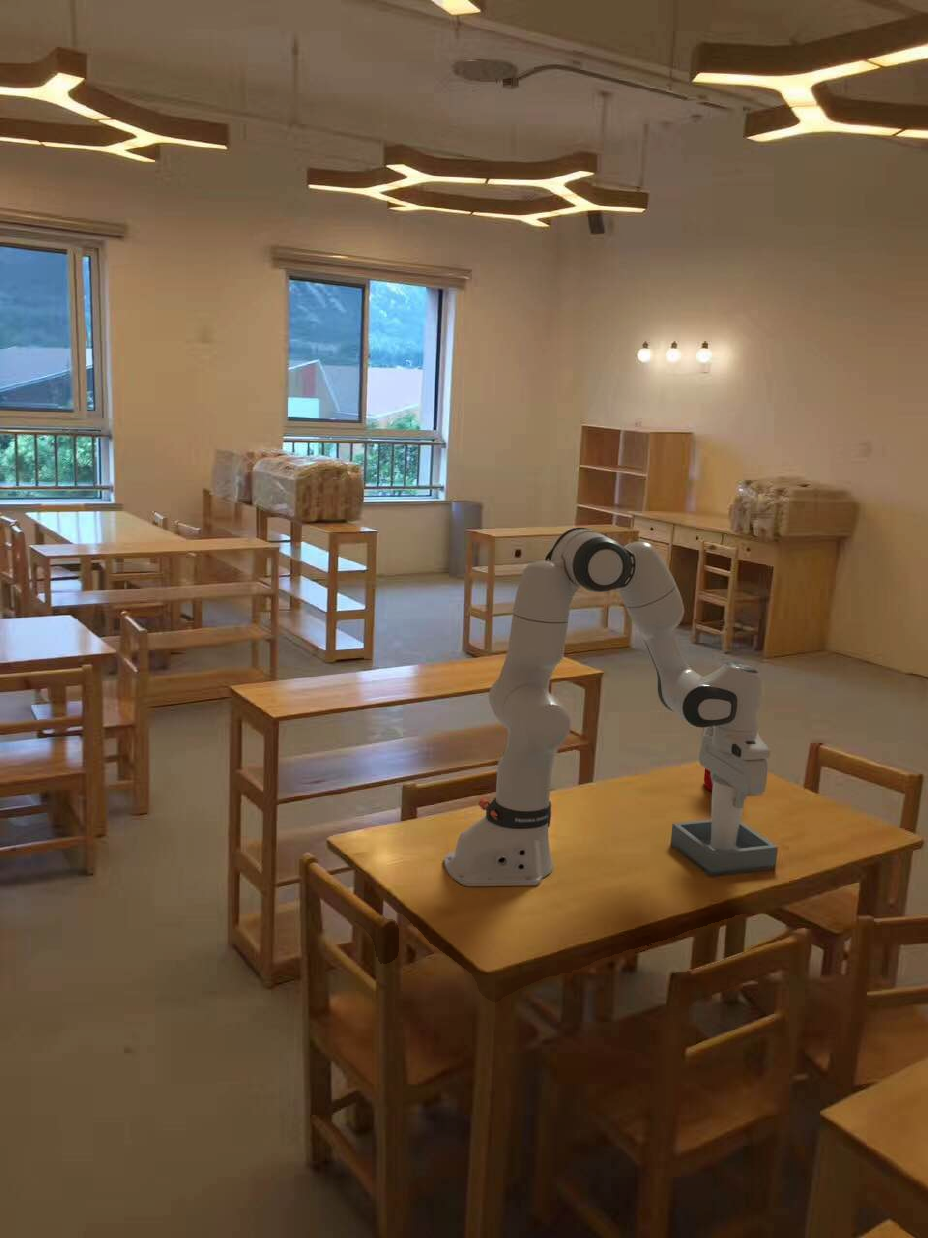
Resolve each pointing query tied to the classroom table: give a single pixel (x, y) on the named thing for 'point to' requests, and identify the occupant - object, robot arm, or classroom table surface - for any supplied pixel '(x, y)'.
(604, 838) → the classroom table surface
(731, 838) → the drinking glass
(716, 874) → the bin
